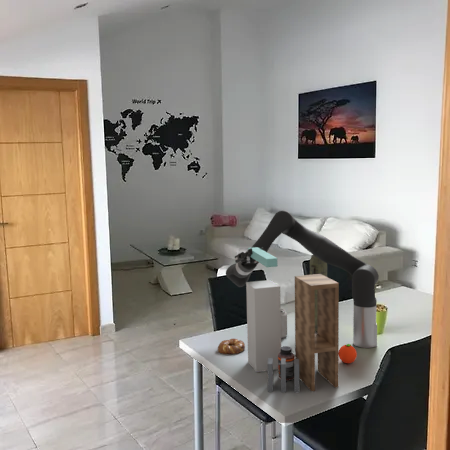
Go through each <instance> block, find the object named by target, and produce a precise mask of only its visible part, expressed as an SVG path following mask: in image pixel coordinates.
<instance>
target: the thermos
mask: <svg viewBox="0 0 450 450" xmlns="http://www.w3.org/2000/svg"><path fill="white" fill-rule="evenodd" d="M313 274H322V275H324V276H326V277H328V263H325V262H324V261H322V260H320V259H319V258H317V257H316V256H314V255H313V254H311V257H310V259H309V275H313ZM315 334H317V290H315Z"/></svg>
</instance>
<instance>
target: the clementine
mask: <svg viewBox="0 0 450 450" xmlns="http://www.w3.org/2000/svg"><path fill="white" fill-rule="evenodd" d="M357 356H358V352H357V349H356V348H355V347H354V346H352V343H351V344H350V343H346V344H344V345H341V346H340V347H339V349H338V359H339V360H340V361H342V362H343V363H345V364H351V363H354V362H355V361H356V359H357Z"/></svg>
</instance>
